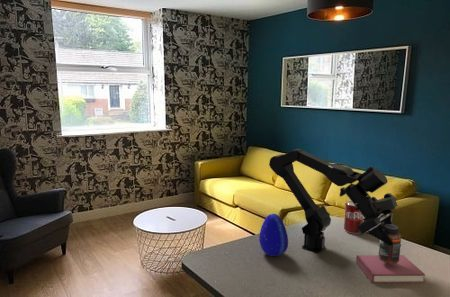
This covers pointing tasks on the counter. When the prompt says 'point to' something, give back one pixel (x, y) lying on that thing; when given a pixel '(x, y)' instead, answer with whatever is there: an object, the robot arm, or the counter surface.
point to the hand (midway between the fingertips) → (395, 241)
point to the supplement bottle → (390, 252)
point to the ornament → (273, 236)
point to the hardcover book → (389, 270)
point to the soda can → (352, 218)
